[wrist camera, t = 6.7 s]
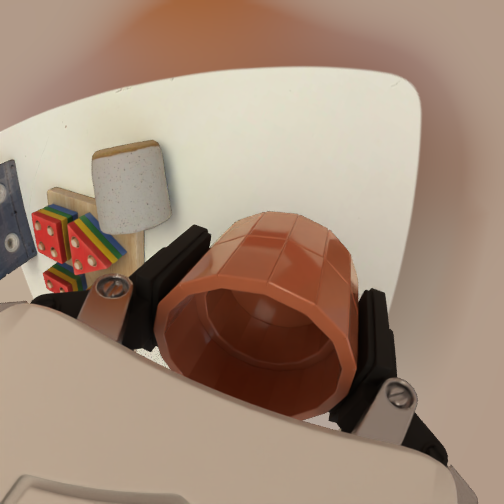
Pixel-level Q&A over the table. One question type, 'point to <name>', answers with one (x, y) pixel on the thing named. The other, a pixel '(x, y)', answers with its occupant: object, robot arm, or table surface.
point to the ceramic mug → (130, 188)
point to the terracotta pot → (267, 316)
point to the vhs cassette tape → (13, 223)
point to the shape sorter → (81, 243)
